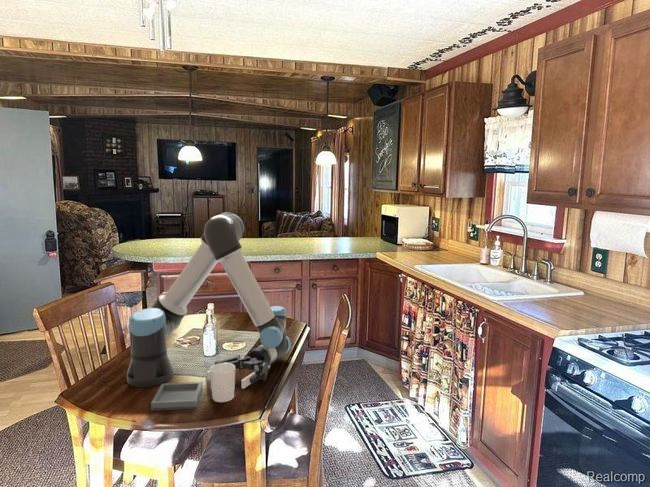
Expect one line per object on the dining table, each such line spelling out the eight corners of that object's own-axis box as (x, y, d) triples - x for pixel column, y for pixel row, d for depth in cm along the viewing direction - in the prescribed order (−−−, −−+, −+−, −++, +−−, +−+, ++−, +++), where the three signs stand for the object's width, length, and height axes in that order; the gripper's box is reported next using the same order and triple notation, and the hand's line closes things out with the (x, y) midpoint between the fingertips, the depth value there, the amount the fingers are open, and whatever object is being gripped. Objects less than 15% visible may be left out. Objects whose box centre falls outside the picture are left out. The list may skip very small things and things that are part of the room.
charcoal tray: (162, 390, 148) (161, 383, 148) (202, 389, 150) (202, 381, 149) (151, 410, 135) (150, 403, 135) (195, 408, 137) (195, 401, 136)
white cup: (225, 389, 149) (224, 360, 148) (241, 396, 144) (240, 367, 143) (205, 398, 143) (204, 368, 142) (221, 406, 138) (220, 375, 137)
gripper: (292, 373, 157) (258, 399, 138) (233, 360, 168) (194, 383, 149) (292, 352, 156) (257, 376, 137) (233, 341, 167) (193, 362, 148)
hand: (224, 380), depth 143 cm, fingers open, 13 cm apart
